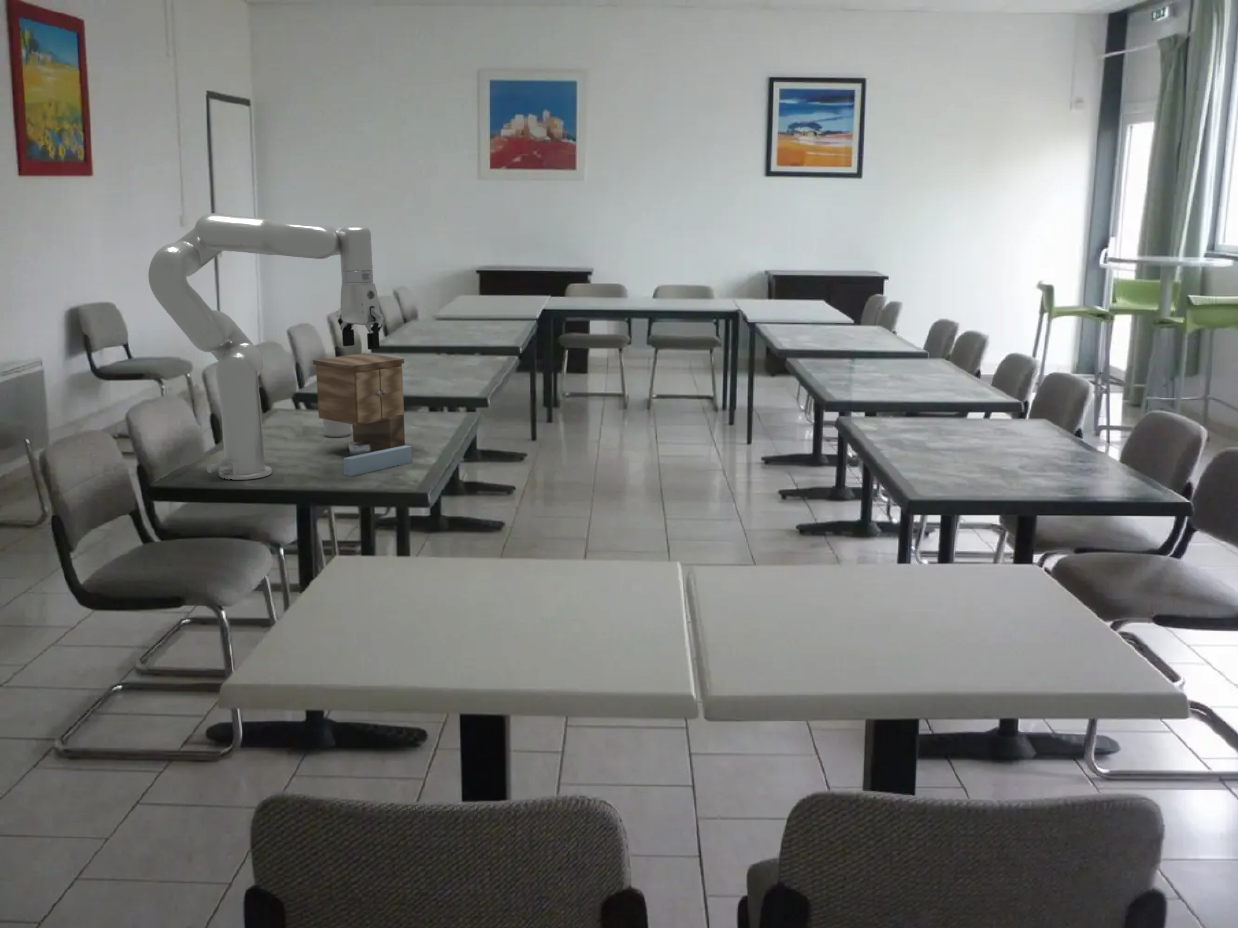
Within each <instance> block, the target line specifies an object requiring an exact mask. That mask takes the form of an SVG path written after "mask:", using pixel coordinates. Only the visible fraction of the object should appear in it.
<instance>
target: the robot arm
mask: <svg viewBox="0 0 1238 928" xmlns="http://www.w3.org/2000/svg"><path fill="white" fill-rule="evenodd" d="M372 250H373V249H372V233H371V230H370V228H368V227H366V226H359V225H357V226H344V227H340V226H339V227H338V226H330V225H320V226H319V225H318V226H309V225H300V224H299V225H298V224H289V223H283V222H277V221H274V220H272V219H269V218H263V217H251V216H239V215H231V214H229V215H228V214H223V213H218V212H212V213H207V214H204V215H202V216H201V217H200V218H198V220H197V221H196V223H195V225H194V227H193V228H192V229H190V230H189V232H187V233H186V234H184V235H183V236H182V237H181V238H179V239H178V240H177V241H175V242H174V243H169V244H166V245H164V246H162V247H161V248H159V249H158V250H157V251H156V252H155V254H154V255H153V257H152V259H151V261H150V264H149V268H148V272H147V273H148V275H147V276H148V277H147V278H148V282H149V283H148V284H149V288H150V289H151V291H152V294H153V296H154V298H155V299H156V300H157V302H158V303H159V305H160V306H161V307H162V308H163V309H164V311H166V313H168V315H169V316H170V318H171V319H172V320H173V321H174V323H175V324H176V325H177V327H179V329H180V330H181V331H182V332H183V333H184V335H186V337H187V338H188V339H189V340H190V342H191V343H192V344H193V346H195V348H197V349H198V350H200V351H201V352H203V353H204V352H205V353H211V355H213V357H214V358H215V359H216V360H217V361H218V362H217V363H216V370H215V373H216V381H217V389H218V395H219V404H220V415H221V428H222V440H223V441H222V442H223V443H222V444H223V455H224V457H221V458H220V461H219V462H218V463H216V464H215V463H213V464H209V465H207V466H206V469H207V470H206V471H207V473H209V474H212V473H217V472H218V475H219V477H220V478H222V479H224V478H225V480H230V479H232V481H233V480H234V481H235V480H236V481H240V480H241V481H244V480H254V479H255V480H256V479H260V478H264V477H268V476H269V475H272V472H273V471H272V467H270V466H269V465H266V464H265V463H266V462H265V451H264V446H265V445H264V435H263V434H264V433H263V432H264V431H263V420H262V419H263V418H262V407H261V406H262V405H261V396H260V395H261V394H260V389H259V388H260V387H259V376H260V374H261V373H262V370H263V367H264V359H263V356H262V354H261V352H260V351H259V349H258V348H257V347H256V346H255V344H254V343H253V342H252V340H250V338H249V337H248V336H247V335H246V333H245V332H243V330H242V329H241V328H240V327H239V326H238V324H237V323H236V322H235V321H234V320H233V319H232V318H231V316H229V315H228V314H226V313H225V312H223V311H221V310H214V309H212V307H210V306H209V305H208V304H207V303H206V302H205V300H204V299H203V298H202V297H201V295H200V294H199V293H198V292H197V291H196V290H195V289H194V288H193V287H192V286H191V285H190V283H189V282H188V279H187V278H188V277H190V276H192V275H194V274H195V273H197V272H198V271H200V269H202V268H203V267H205V266H206V265H207V264H208V263H210V262H211V261H212V260H213V259H215V258H216V257H217V256H219V255H220V254H221V253H222V252H224V251H225V252H235V253H236V252H237V253H238V252H239V253H249V254H259V255H266V256H285V257H294V258H302V259H303V258H304V259H316V260H317V259H318V260H323V259H328V258H330V257H333V256H339V255H340V270H341V287H340V289H341V290H340V308H338V310H335V317H336V318H337V323H338V324H339V329H340V331H341V334H342V335H341V337H342V346H343V347H351V346H355V330H354V329H353V327H354V325H358V326H365V328H366V330H367V333H366V339H367V340H366V341H367V350H378V349H380V333H381V329H382V328H383V323H384V322H383V321H384V318H385V316H384V315H383V314H382V313H381V311H380V303H379V296H378V291H377V290H378V289H377V286H376V284H375V283H374V275H373V274H374V272H373V271H374V270H373V254H372V253H373V251H372Z"/></svg>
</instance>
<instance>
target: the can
mask: <svg viewBox="0 0 1238 928" xmlns="http://www.w3.org/2000/svg"><path fill="white" fill-rule="evenodd" d="M322 421H323V433H324V434H325V436H326V437H328V438H336V439H337V438H338V439H339V438H345V437H347V436H349V435H350V433H351V431H352V430H351V429H352V428H351V424H347V423H342V422H337V421H332V420H327V419H323V420H322Z"/></svg>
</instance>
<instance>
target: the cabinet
mask: <svg viewBox="0 0 1238 928" xmlns="http://www.w3.org/2000/svg"><path fill="white" fill-rule="evenodd" d="M402 364H405V358H400V357H393V356H387V355H386V356H385V355H379V354H371V353H366V352H364V353H363V352H362V353H356V354H347V355H339V356H333V357H326V358H319V359H318V358H316V359H312V365H315V372H316V373H315V374H316V390H317V392H316V393H317V408H318V419H327V420H332V421H337V422H342V423H347V424H350V425H352V440H353V441H352V442H355V441H369V442H372V451H374V452H375V451H380V450H385V449H390V448H395V447H400V446H404V445H406V439H405V438H406V436H405V417H404V415H405V409H404V408H405V405H404V381H403V380H404V379H403V366H402Z"/></svg>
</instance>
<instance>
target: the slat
mask: <svg viewBox="0 0 1238 928" xmlns="http://www.w3.org/2000/svg"><path fill="white" fill-rule="evenodd" d="M412 448H413V446H411V445H406V444H405V445H404V446H400V447H395V448H390V449H385V450H380V451H375V450H374V451H372V452H371V453H366V454H361V455H356V456H351V457H350V456H347V457H343V459H342V460H343V475H344V476H348V477H352V476H357V475H361V474H366V473H371V472H375V471H379V470H384V469H388V468H389V467H390V468H393V466H394V467H398V466H397V465H399V466H402V465H406V464H411V463H413V449H412Z"/></svg>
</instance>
